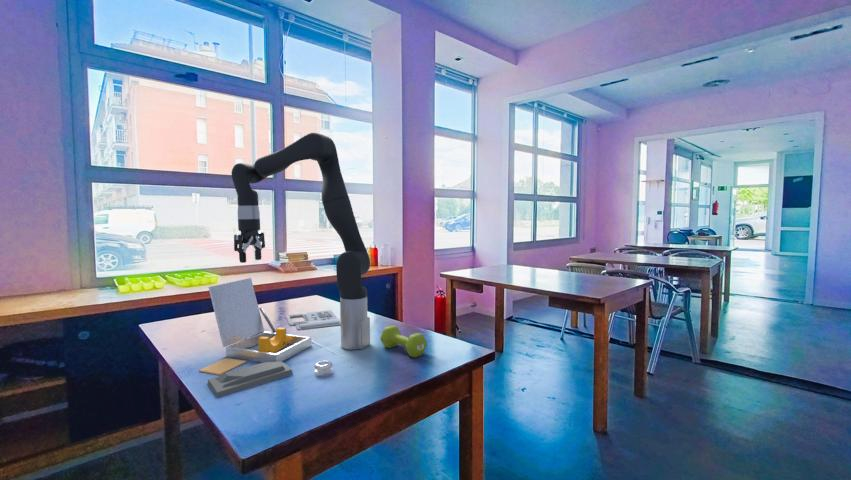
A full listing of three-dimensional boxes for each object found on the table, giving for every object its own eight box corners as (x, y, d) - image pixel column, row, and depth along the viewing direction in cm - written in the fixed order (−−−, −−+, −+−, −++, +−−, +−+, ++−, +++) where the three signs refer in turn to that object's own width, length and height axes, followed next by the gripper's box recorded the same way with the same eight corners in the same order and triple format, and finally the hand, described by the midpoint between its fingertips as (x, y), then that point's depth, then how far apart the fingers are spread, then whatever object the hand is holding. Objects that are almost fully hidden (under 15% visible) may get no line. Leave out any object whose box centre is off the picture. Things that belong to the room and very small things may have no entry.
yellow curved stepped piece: (275, 345, 138) (274, 327, 137) (286, 345, 137) (286, 327, 137) (254, 357, 126) (253, 338, 126) (266, 358, 125) (265, 338, 125)
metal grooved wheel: (336, 372, 115) (325, 368, 118) (335, 362, 114) (325, 358, 117) (321, 378, 111) (311, 373, 114) (321, 367, 110) (311, 363, 114)
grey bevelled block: (206, 386, 107) (206, 373, 106) (279, 366, 120) (279, 355, 120) (217, 399, 99) (217, 386, 99) (293, 376, 113) (293, 365, 112)
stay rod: (277, 334, 143) (276, 308, 142) (275, 335, 142) (275, 309, 141) (261, 332, 145) (260, 306, 145) (259, 333, 145) (258, 307, 144)
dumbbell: (429, 354, 129) (429, 332, 128) (411, 361, 123) (411, 338, 123) (396, 342, 140) (395, 322, 140) (378, 348, 135) (378, 327, 134)
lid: (251, 277, 143) (248, 278, 144) (210, 286, 127) (207, 287, 127) (264, 331, 143) (261, 331, 144) (224, 347, 127) (221, 347, 127)
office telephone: (342, 320, 161) (291, 326, 152) (342, 327, 161) (291, 333, 153) (331, 307, 182) (285, 311, 173) (331, 312, 182) (285, 317, 174)
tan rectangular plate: (246, 362, 122) (246, 361, 122) (219, 375, 112) (219, 373, 112) (226, 359, 124) (226, 357, 124) (198, 371, 115) (198, 370, 115)
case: (313, 344, 138) (313, 336, 138) (276, 364, 120) (276, 355, 120) (267, 338, 145) (267, 330, 144) (226, 356, 127) (225, 347, 126)
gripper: (244, 218, 139) (246, 263, 140) (269, 217, 152) (271, 259, 154) (226, 218, 140) (228, 263, 142) (252, 217, 154) (254, 258, 155)
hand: (250, 261), depth 148 cm, fingers open, 8 cm apart
